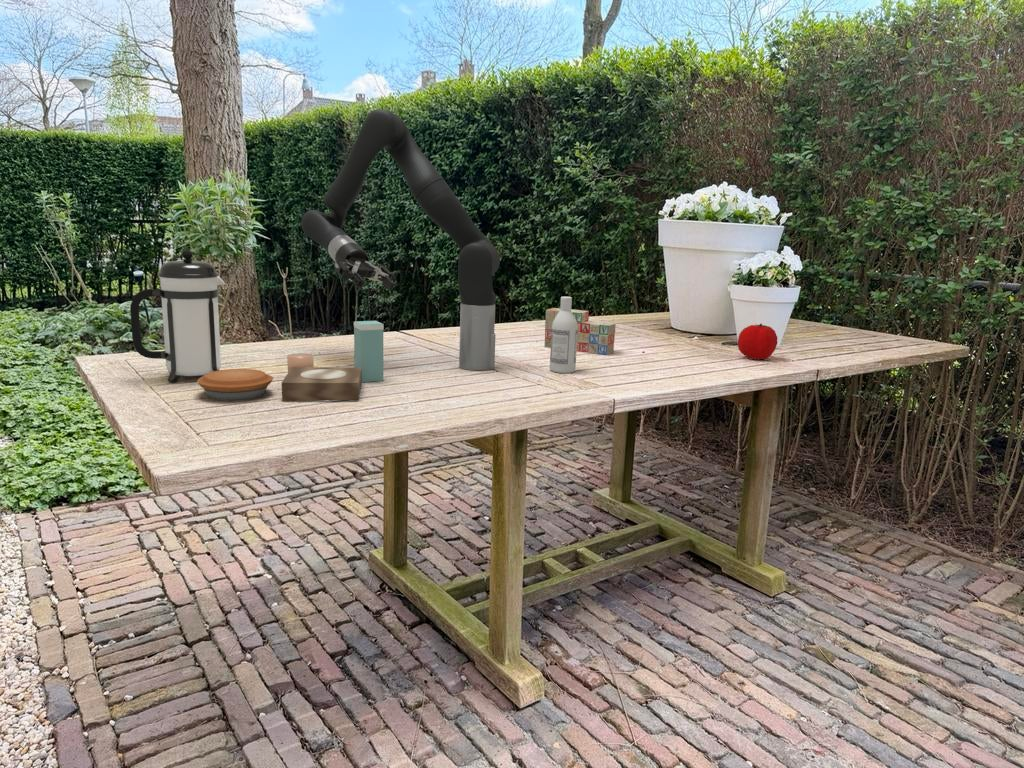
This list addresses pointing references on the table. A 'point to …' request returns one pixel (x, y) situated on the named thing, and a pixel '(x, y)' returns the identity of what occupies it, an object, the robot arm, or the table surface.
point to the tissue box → (322, 383)
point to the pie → (235, 384)
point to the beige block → (299, 360)
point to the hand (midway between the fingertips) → (377, 286)
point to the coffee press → (185, 318)
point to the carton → (369, 349)
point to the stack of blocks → (585, 332)
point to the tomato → (757, 341)
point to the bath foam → (564, 339)
